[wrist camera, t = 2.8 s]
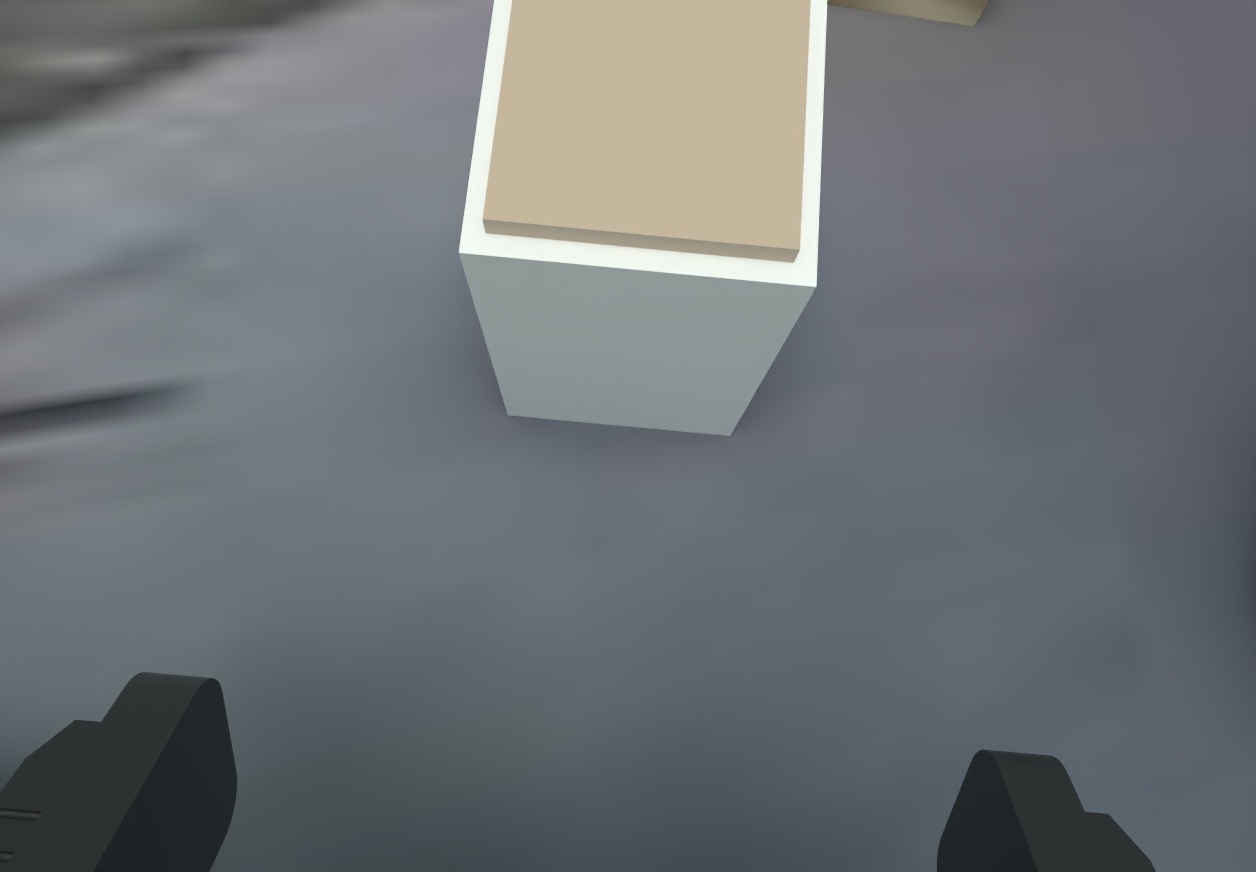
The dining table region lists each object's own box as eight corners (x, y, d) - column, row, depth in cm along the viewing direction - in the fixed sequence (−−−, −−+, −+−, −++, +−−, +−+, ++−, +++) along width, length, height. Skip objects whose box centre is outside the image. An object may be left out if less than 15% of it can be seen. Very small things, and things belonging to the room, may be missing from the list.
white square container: (507, 415, 26) (455, 239, 15) (532, 212, 27) (498, -70, 17) (730, 435, 26) (823, 274, 15) (742, 233, 27) (834, -35, 17)
